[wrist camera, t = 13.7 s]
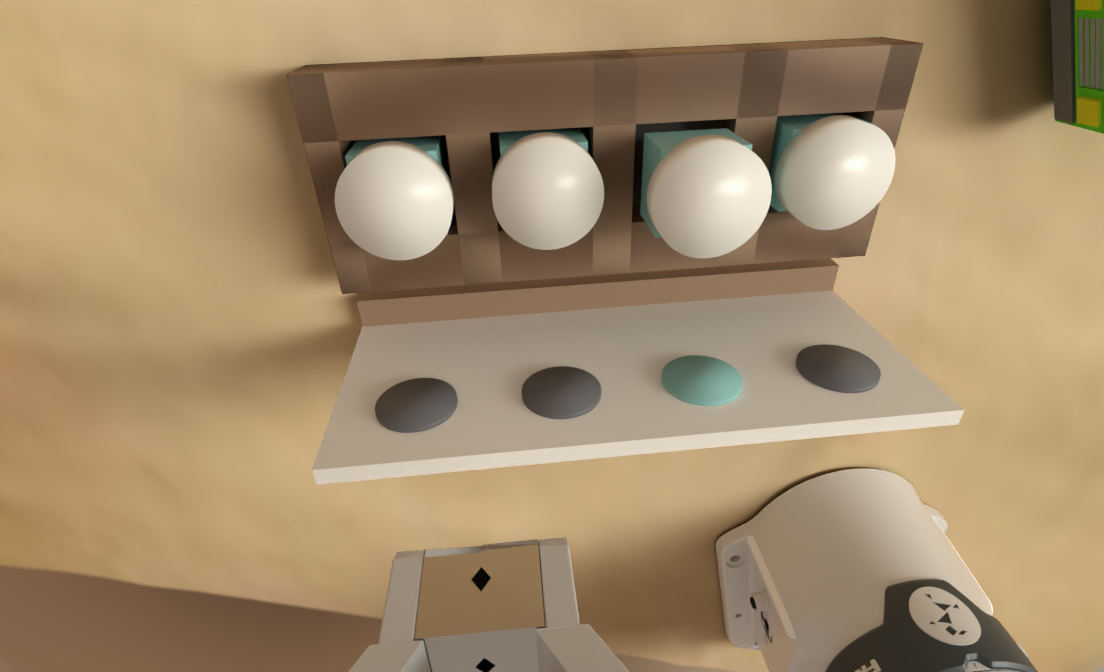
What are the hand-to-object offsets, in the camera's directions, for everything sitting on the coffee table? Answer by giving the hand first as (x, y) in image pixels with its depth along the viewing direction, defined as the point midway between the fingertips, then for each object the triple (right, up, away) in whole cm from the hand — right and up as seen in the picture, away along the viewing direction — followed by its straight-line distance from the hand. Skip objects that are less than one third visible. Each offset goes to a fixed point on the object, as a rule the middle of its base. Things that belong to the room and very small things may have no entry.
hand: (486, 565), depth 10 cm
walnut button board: (+4, +13, +19) cm, 23 cm away
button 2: (+7, +12, +17) cm, 22 cm away
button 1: (+14, +13, +19) cm, 27 cm away
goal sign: (+4, +6, +24) cm, 25 cm away
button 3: (+1, +12, +18) cm, 22 cm away
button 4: (-6, +12, +18) cm, 22 cm away
